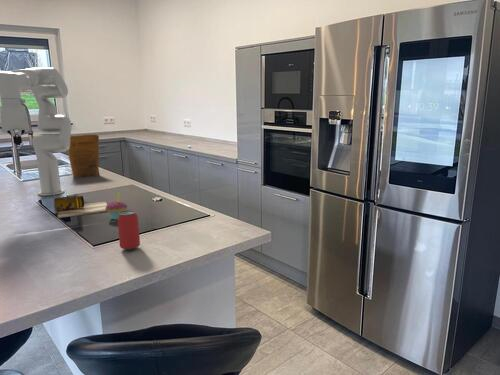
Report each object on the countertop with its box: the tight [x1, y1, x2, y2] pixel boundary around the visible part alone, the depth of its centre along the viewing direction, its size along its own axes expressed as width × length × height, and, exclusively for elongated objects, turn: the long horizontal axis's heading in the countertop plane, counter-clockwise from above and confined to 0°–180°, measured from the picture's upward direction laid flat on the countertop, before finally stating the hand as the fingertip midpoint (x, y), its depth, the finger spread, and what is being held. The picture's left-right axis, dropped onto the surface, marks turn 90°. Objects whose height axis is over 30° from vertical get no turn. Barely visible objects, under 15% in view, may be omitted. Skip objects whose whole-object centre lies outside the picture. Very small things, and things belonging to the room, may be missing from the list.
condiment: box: [52, 194, 85, 213], centre depth 171 cm, size 7×8×12 cm
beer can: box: [117, 209, 141, 250], centre depth 128 cm, size 7×7×12 cm
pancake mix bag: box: [67, 134, 101, 178], centre depth 243 cm, size 7×19×28 cm, turn 113°
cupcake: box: [106, 191, 128, 221], centre depth 160 cm, size 9×8×12 cm
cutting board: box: [57, 201, 108, 219], centre depth 173 cm, size 16×21×1 cm
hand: (18, 145), depth 167 cm, fingers closed
